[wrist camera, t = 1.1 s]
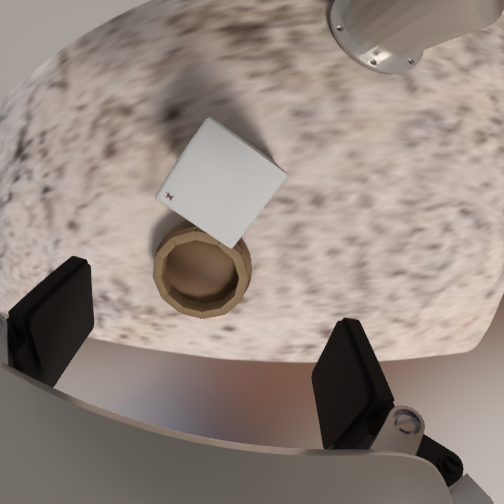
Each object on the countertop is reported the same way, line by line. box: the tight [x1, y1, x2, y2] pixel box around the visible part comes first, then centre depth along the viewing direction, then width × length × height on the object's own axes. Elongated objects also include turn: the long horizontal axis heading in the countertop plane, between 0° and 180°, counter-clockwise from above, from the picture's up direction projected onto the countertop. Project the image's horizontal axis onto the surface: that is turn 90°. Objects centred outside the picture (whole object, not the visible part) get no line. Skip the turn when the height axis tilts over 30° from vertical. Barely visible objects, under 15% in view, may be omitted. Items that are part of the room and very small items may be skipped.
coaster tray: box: [153, 221, 252, 319], centre depth 35 cm, size 12×12×4 cm
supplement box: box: [155, 117, 288, 248], centre depth 26 cm, size 7×7×13 cm
